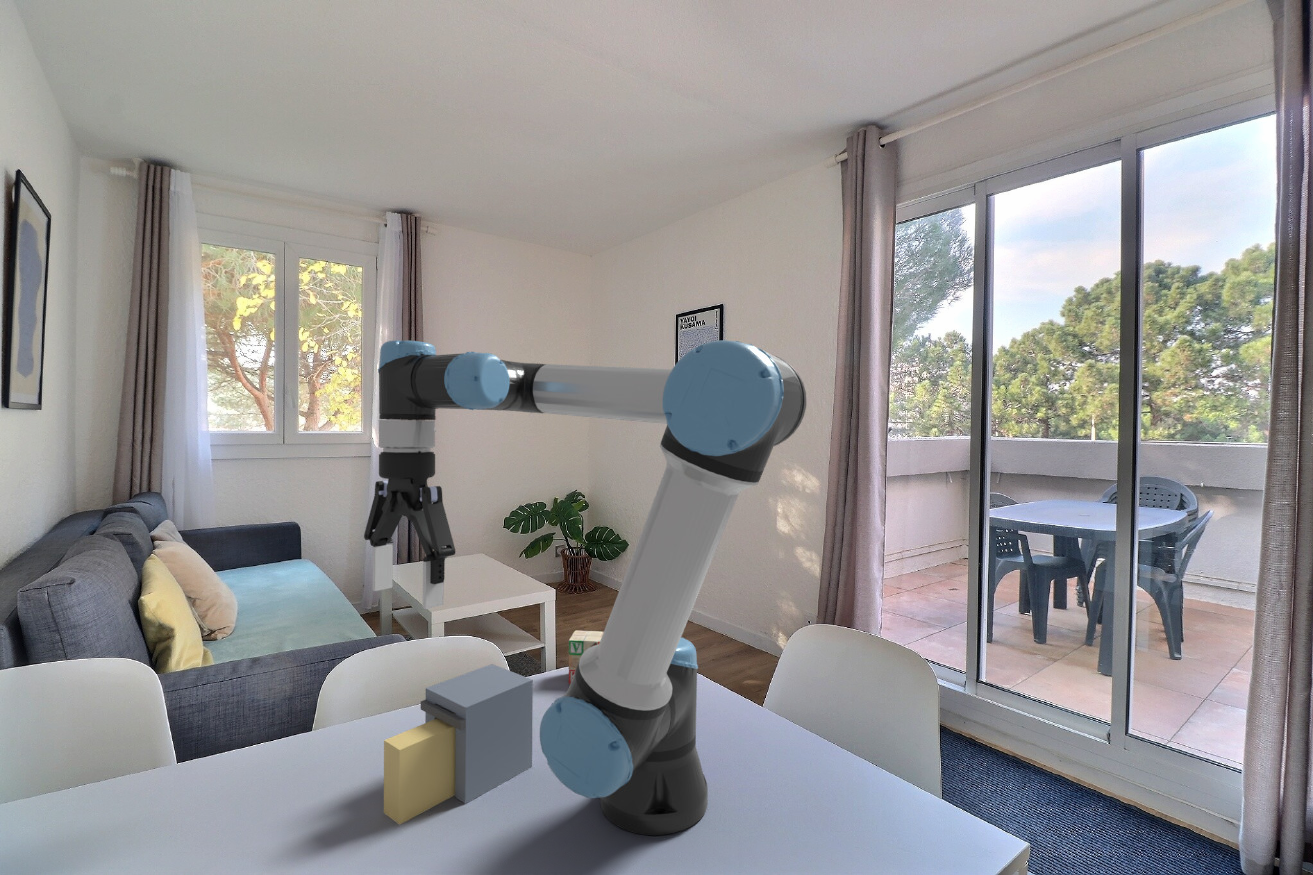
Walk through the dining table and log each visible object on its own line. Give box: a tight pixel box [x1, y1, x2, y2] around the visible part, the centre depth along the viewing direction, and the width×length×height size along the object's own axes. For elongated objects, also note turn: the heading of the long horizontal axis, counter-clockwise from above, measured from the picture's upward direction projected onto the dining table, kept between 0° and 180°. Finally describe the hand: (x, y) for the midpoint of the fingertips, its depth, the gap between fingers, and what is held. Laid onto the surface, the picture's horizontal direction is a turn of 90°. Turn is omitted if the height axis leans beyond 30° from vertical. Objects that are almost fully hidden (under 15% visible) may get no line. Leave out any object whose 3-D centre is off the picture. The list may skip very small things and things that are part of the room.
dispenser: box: [420, 663, 534, 805], centre depth 92 cm, size 10×13×14 cm
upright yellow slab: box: [383, 712, 456, 826], centre depth 87 cm, size 4×14×10 cm, turn 142°
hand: (406, 597), depth 88 cm, fingers open, 13 cm apart
